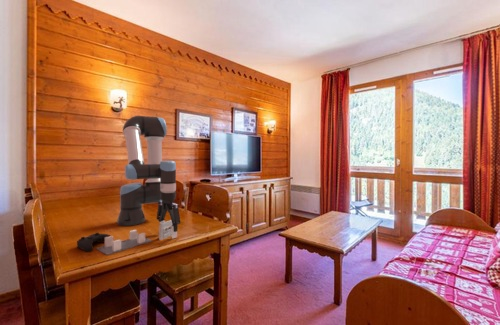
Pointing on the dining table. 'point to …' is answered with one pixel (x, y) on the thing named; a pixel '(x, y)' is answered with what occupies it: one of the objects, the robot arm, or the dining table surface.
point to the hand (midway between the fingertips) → (168, 235)
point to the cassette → (165, 230)
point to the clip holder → (123, 243)
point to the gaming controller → (90, 241)
